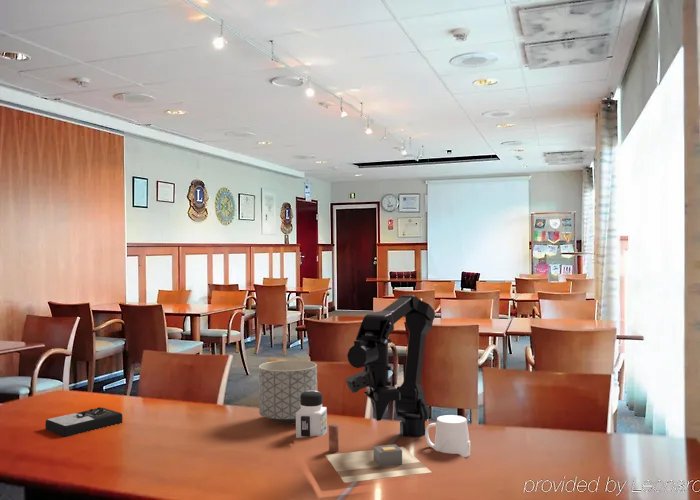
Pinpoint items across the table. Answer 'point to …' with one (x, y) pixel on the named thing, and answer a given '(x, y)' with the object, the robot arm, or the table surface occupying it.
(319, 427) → the container
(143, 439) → the table surface
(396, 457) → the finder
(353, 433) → the table surface
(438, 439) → the mug
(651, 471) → the table surface
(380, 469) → the board
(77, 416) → the multimeter
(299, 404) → the planter
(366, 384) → the robot arm
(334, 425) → the brown cylinder
